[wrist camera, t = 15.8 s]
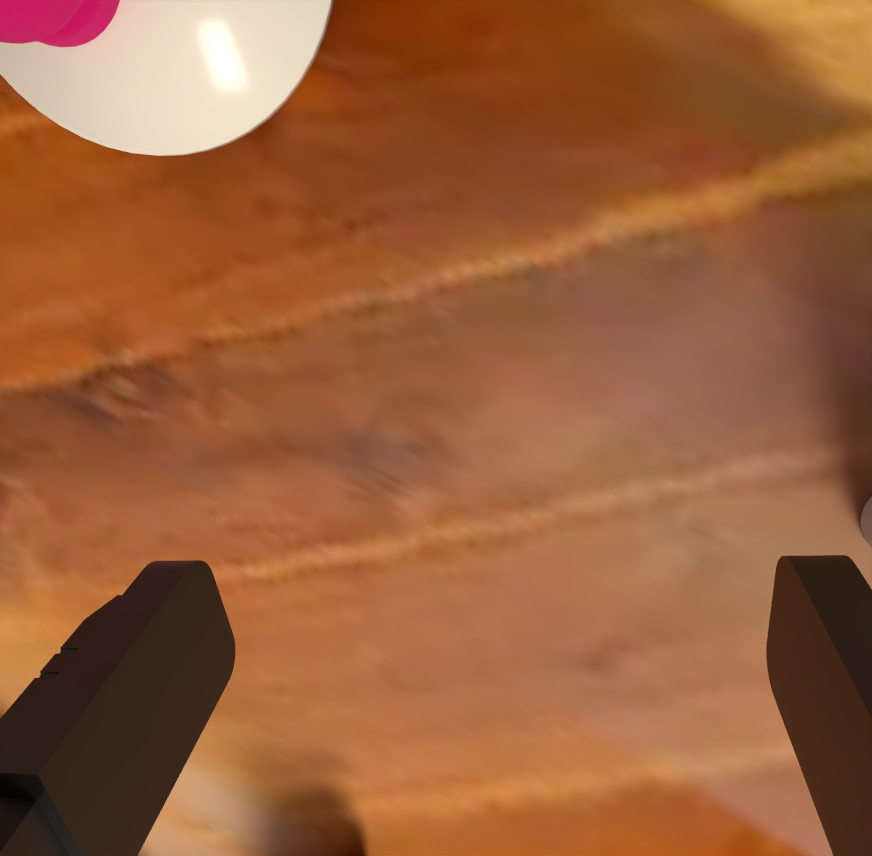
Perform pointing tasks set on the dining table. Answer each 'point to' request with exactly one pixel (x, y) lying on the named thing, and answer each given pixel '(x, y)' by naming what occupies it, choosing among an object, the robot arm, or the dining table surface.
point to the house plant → (867, 521)
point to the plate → (173, 72)
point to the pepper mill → (55, 21)
